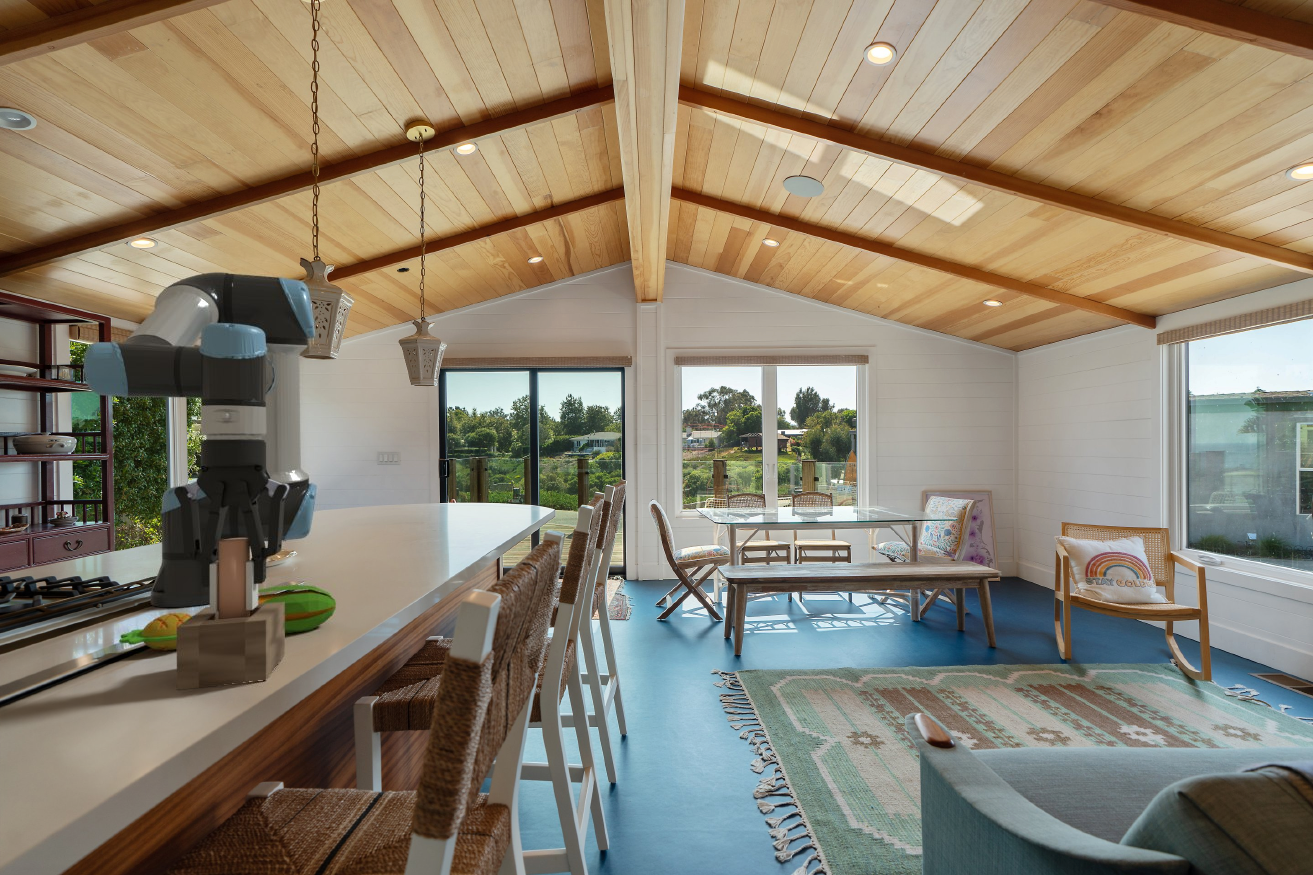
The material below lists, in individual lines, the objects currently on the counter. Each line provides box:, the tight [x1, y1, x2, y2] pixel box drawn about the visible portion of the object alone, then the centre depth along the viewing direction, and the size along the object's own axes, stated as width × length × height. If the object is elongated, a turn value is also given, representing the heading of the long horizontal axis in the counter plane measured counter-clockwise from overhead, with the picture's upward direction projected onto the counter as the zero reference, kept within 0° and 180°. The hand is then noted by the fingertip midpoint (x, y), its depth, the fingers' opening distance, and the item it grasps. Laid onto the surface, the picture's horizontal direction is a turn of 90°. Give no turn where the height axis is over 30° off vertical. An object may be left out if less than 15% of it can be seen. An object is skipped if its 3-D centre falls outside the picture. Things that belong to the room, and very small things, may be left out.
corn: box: [258, 584, 337, 635], centre depth 106 cm, size 7×8×20 cm
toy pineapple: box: [118, 612, 193, 652], centre depth 97 cm, size 7×10×5 cm
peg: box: [218, 538, 251, 619], centre depth 88 cm, size 4×4×12 cm
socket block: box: [176, 602, 286, 691], centre depth 88 cm, size 10×10×8 cm
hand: (234, 608), depth 88 cm, fingers closed on peg, 3 cm apart
